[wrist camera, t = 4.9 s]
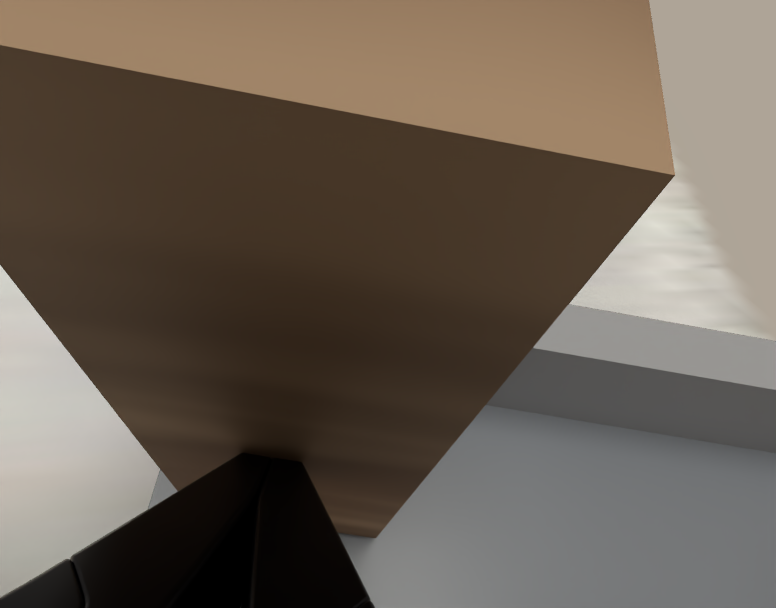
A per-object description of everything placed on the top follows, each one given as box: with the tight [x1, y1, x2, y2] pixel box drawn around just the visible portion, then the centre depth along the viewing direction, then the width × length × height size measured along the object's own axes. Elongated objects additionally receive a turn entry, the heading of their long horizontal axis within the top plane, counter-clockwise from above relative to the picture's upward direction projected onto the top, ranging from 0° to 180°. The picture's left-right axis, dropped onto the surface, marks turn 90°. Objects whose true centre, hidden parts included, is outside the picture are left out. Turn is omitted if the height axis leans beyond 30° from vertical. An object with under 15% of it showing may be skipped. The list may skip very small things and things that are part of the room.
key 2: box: [0, 0, 675, 538], centre depth 9 cm, size 3×4×12 cm
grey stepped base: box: [148, 304, 776, 608], centre depth 13 cm, size 10×20×6 cm, turn 83°
